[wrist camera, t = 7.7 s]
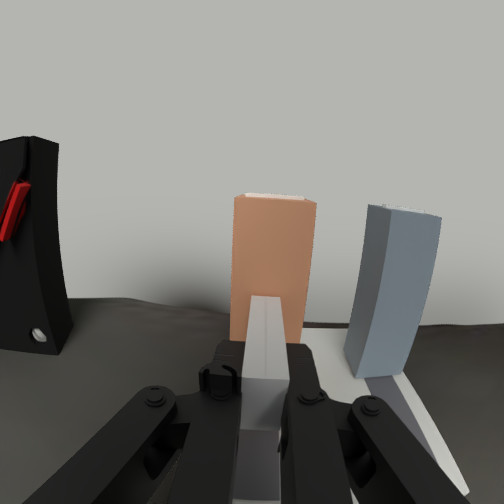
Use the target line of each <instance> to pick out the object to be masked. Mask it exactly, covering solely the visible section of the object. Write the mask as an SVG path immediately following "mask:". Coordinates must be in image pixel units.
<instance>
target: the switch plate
mask: <svg viewBox="0 0 504 504" xmlns="http://www.w3.org/2000/svg"><path fill="white" fill-rule="evenodd" d="M347 332H348V329H324V328H302V333H301V339H300V343H303V344H306V345H307V346H308V347H309V348H310V349H311V350H312V354H313V359H314V362H315V366H316V370H317V374H318V378H319V382H320V387H321V388H322V389H323V390H324V391H325V392H326V393H327V394H328V396H329V398H331V399H333V400H335V401H339V402H344V403H350V404H352V403H353V402H354V400H355V399H356V398H358V397H360V396H364V395H372V396H377V397H379V398H381V399H383V400H384V401H385V402H386V403H387V404H388V405H389V406H390V407H391V409H392V410H393V411H394V412H395V413H396V414H397V416H398V417H399V418H400V419H401V420H402V422H403V423H404V424H405V425H406V426H407V428H408V429H409V430H410V431H411V432H412V434H413V435H414V436H415V437H416V438H417V440H418V441H419V442H420V443H421V445H422V446H423V447H424V448H425V449H426V451H427V452H428V453H429V454H430V455H431V457H432V458H433V459H434V460H435V461H436V463H437V464H438V465H439V466H440V467H441V469H442V470H443V471H444V472H445V474H446V475H447V476H448V477H449V478H450V480H451V481H452V482H453V483H454V485H455V486H456V487H457V488H458V489H459V491H460V492H461V493H462V494H463V496H465V495H467V494H468V493H469V489H468V487H467V485H466V483H465V481H464V479H463V477H462V475H461V473H460V471H459V469H458V467H457V465H456V463H455V461H454V459H453V457H452V455H451V453H450V451H449V449H448V447H447V446H446V444H445V442H444V440H443V438H442V436H441V434H440V433H439V431H438V429H437V427H436V426H435V424H434V422H433V420H432V419H431V417H430V415H429V413H428V412H427V410H426V408H425V407H424V405H423V403H422V401H421V400H420V398H419V396H418V395H417V393H416V392H415V390H414V388H413V387H412V385H411V383H410V382H409V380H408V379H407V377H406V375H405V374H404V372H403V371H402V373H401V374H399V375H390V376H380V377H368V378H355V376H354V374H353V372H352V369H351V367H350V364H349V362H348V359H347V357H346V355H345V352H344V350H343V348H344V344H345V340H346V336H347ZM280 438H281V427H280V431H265V430H247V429H240V432H239V446H238V455H237V464H236V474H235V483H234V492H233V501H232V504H281V488H280V453H277V450H278V446H279V442H280ZM350 490H351V488H350ZM351 495H352V500H353V504H359V503H358V501H357V499H356V497H355V496H354V494H353V492H352V490H351Z"/></svg>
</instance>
